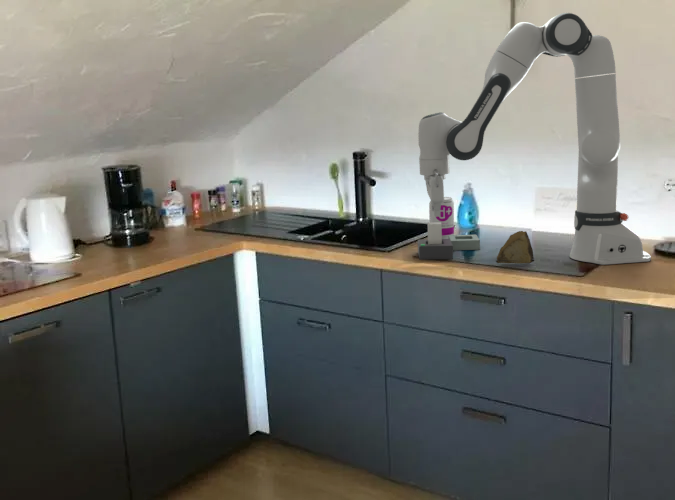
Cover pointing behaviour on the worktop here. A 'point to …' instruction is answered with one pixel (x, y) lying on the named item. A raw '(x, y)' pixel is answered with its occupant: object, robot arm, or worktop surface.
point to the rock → (516, 249)
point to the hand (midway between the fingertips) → (436, 213)
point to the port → (435, 250)
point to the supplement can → (444, 217)
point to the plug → (435, 233)
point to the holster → (465, 242)
